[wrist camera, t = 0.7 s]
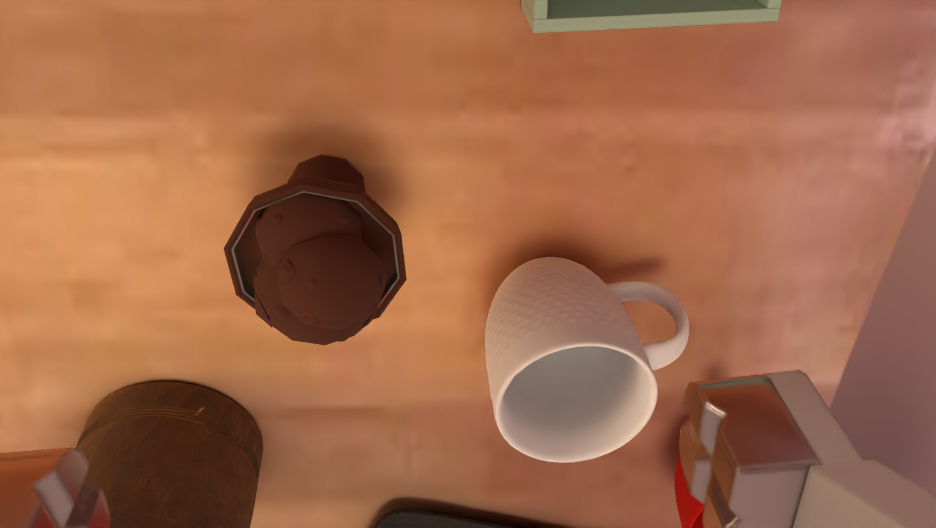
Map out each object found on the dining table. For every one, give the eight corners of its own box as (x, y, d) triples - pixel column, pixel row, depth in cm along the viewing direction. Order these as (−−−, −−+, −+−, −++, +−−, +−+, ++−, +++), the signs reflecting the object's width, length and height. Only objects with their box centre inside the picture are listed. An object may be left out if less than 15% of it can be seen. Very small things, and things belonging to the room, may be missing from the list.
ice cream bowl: (256, 105, 51) (214, 222, 39) (420, 139, 54) (430, 260, 42) (239, 237, 57) (198, 377, 45) (388, 263, 59) (388, 402, 47)
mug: (652, 204, 58) (712, 310, 48) (666, 315, 65) (721, 430, 54) (460, 252, 59) (476, 366, 49) (491, 356, 66) (512, 479, 55)
